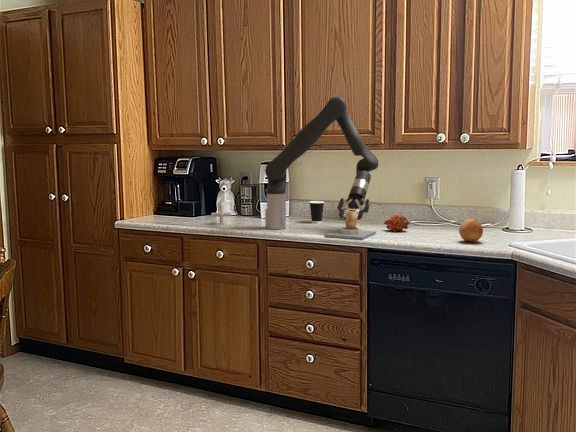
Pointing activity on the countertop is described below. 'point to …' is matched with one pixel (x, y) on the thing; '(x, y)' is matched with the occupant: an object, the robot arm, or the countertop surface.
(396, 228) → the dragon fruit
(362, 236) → the hub plate
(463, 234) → the onion
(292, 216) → the countertop surface
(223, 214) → the pipe connector
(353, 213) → the tan cylinder
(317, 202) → the dixie cup
